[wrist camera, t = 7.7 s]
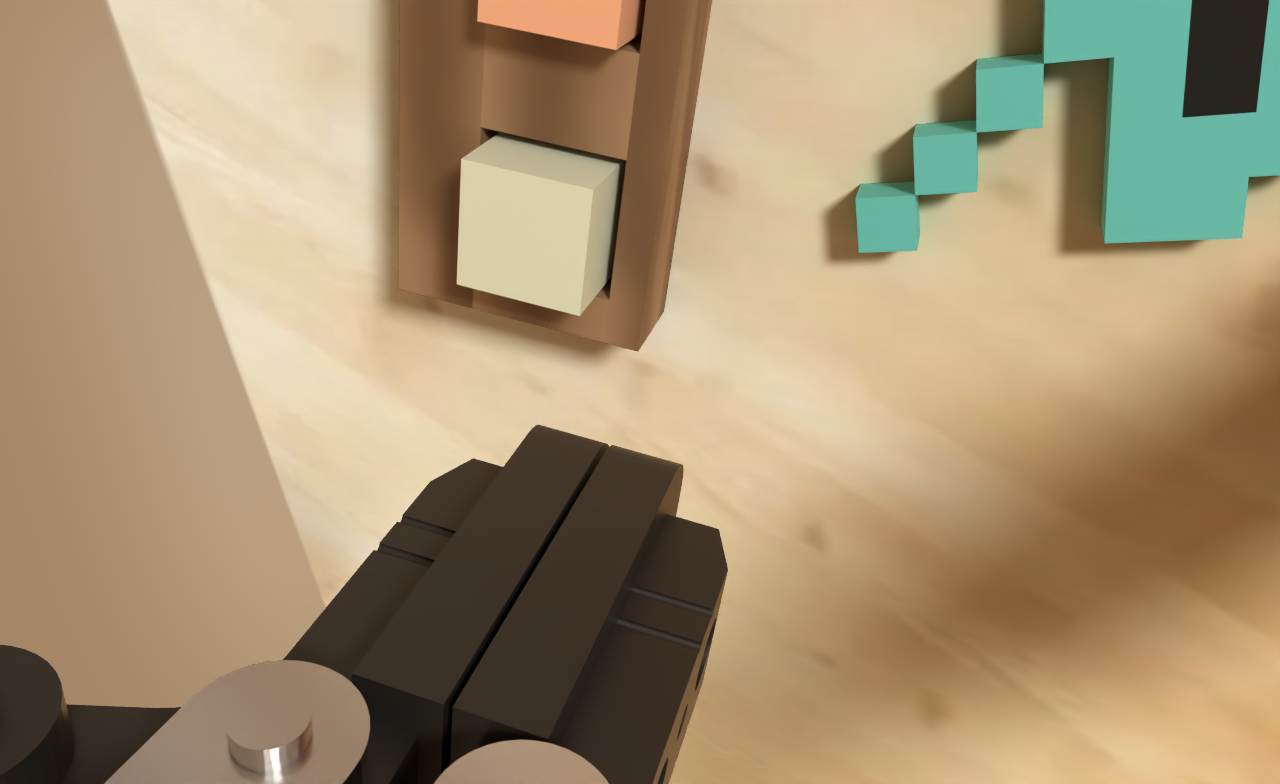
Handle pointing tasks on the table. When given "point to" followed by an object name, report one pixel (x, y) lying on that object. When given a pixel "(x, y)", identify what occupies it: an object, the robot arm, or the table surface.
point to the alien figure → (1123, 119)
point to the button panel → (555, 113)
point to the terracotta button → (569, 19)
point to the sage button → (538, 221)
